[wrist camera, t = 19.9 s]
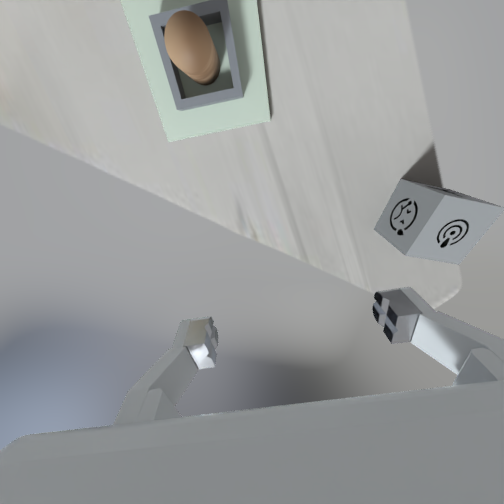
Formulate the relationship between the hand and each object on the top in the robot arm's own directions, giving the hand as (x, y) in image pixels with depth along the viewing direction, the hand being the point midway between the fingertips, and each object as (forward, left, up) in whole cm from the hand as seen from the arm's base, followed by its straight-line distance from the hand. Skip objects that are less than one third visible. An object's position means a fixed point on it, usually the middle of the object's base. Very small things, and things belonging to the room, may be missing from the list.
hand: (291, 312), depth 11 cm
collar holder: (-5, +16, -31) cm, 35 cm away
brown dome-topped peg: (-5, +16, -30) cm, 34 cm away
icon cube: (+27, -11, -31) cm, 43 cm away
